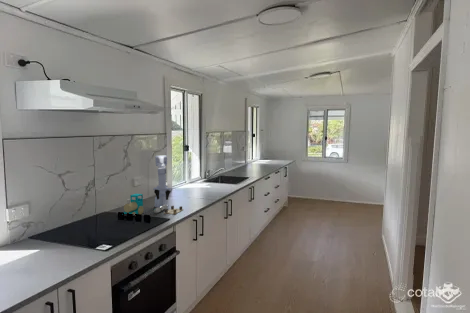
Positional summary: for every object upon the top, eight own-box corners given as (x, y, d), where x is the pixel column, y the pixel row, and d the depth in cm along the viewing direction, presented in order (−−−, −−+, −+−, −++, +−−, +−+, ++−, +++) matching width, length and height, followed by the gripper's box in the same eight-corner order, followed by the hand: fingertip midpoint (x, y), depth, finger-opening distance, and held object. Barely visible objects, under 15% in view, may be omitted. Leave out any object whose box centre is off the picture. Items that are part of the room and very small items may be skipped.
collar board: (163, 213, 237) (163, 208, 237) (172, 208, 251) (172, 204, 250) (175, 214, 235) (175, 209, 234) (183, 209, 248) (183, 205, 248)
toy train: (120, 217, 226) (120, 197, 225) (135, 212, 242) (135, 193, 240) (129, 218, 223) (129, 198, 222) (143, 213, 239) (143, 194, 238)
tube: (158, 213, 237) (158, 208, 236) (153, 213, 238) (153, 208, 237) (167, 209, 250) (167, 204, 250) (162, 208, 251) (162, 204, 251)
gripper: (151, 183, 240) (151, 200, 241) (168, 183, 237) (168, 201, 238) (155, 181, 247) (156, 198, 248) (172, 182, 244) (172, 199, 245)
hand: (162, 199), depth 243 cm, fingers open, 7 cm apart
